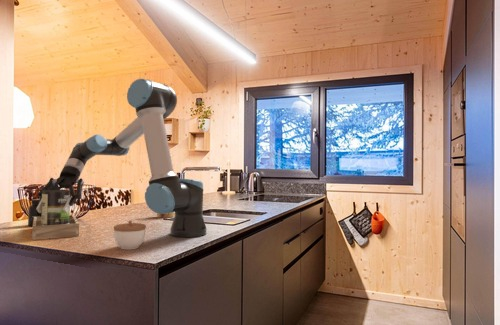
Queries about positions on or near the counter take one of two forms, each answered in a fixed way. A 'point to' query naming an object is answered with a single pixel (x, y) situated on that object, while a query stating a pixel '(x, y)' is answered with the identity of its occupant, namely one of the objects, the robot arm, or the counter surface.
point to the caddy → (55, 229)
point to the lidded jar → (129, 235)
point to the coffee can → (54, 207)
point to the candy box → (165, 214)
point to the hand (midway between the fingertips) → (51, 211)
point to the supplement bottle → (33, 212)
